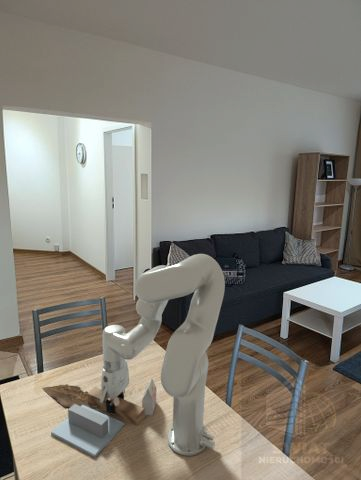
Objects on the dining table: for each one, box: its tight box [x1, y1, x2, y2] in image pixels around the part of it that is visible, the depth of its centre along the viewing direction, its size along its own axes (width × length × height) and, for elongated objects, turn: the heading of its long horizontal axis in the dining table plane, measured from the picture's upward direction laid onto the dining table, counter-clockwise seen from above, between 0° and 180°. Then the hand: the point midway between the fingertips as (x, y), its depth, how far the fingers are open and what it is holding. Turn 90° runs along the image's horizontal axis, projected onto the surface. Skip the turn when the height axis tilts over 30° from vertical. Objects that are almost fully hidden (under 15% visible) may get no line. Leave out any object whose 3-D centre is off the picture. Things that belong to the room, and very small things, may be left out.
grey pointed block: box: [141, 378, 157, 416], centre depth 116 cm, size 4×7×10 cm, turn 173°
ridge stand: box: [50, 404, 125, 458], centre depth 105 cm, size 18×14×6 cm
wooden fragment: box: [41, 383, 99, 409], centre depth 121 cm, size 26×11×1 cm, turn 65°
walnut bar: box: [87, 386, 145, 426], centre depth 115 cm, size 22×4×4 cm, turn 62°
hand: (115, 407), depth 115 cm, fingers open, 4 cm apart
